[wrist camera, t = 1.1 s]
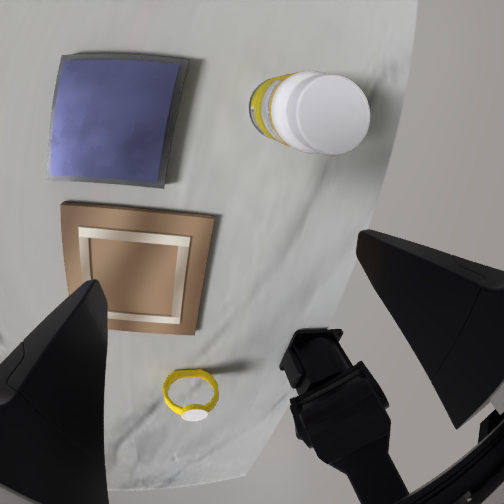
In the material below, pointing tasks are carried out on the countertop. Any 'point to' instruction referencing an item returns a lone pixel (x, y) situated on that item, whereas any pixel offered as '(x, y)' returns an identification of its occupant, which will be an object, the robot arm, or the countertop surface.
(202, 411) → the watch
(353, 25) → the countertop surface
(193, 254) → the marked board
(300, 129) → the supplement bottle
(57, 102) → the ink pad
